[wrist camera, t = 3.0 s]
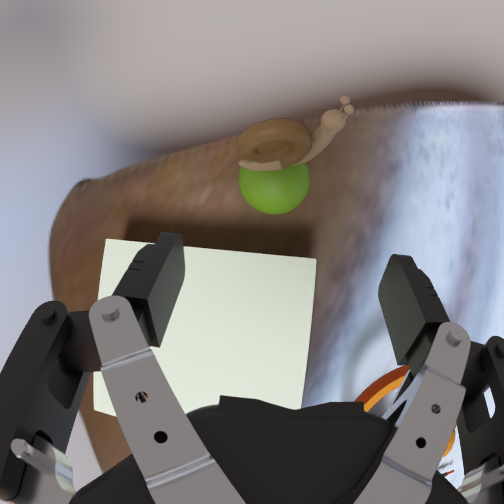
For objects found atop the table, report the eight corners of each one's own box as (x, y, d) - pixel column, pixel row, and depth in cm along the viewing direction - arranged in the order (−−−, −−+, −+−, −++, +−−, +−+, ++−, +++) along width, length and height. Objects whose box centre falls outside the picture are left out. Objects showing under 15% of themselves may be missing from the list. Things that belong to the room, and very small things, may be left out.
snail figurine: (322, 214, 25) (370, 145, 13) (246, 227, 25) (237, 161, 13) (307, 157, 26) (336, 65, 14) (235, 168, 26) (221, 76, 14)
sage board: (309, 264, 24) (316, 258, 21) (290, 429, 22) (294, 444, 19) (121, 245, 25) (106, 238, 22) (109, 400, 22) (94, 409, 19)
